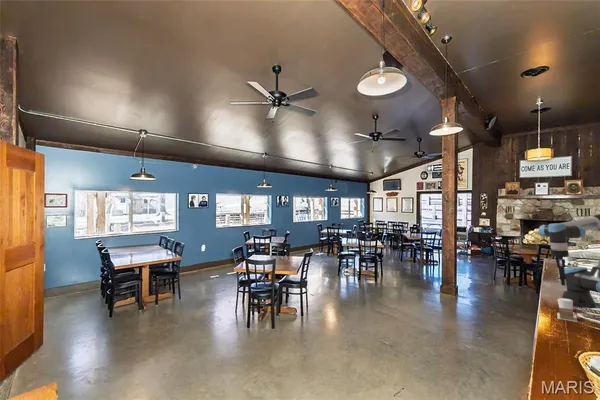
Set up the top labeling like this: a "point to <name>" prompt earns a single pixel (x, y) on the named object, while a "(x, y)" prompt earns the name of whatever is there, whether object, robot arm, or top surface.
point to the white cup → (565, 303)
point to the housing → (566, 313)
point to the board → (566, 319)
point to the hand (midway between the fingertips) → (563, 289)
